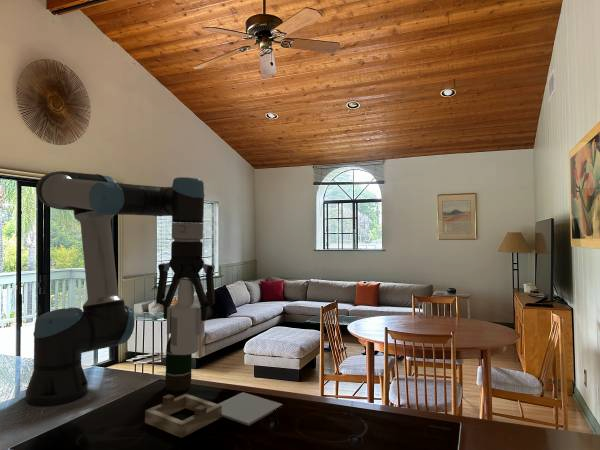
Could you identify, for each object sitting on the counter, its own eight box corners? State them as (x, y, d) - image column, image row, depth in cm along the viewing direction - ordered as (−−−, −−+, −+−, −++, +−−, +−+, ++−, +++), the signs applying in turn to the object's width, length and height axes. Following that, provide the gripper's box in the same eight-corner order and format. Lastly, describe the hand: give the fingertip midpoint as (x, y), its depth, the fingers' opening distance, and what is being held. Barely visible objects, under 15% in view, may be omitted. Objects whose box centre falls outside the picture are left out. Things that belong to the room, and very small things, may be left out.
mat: (207, 411, 114) (207, 408, 114) (242, 394, 126) (242, 392, 126) (248, 425, 106) (248, 423, 106) (282, 406, 118) (282, 404, 118)
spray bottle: (186, 345, 113) (188, 276, 113) (204, 351, 109) (206, 279, 109) (164, 351, 108) (166, 278, 108) (182, 357, 104) (184, 281, 104)
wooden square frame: (144, 422, 107) (144, 404, 107) (185, 404, 118) (185, 387, 118) (182, 438, 99) (182, 418, 99) (222, 417, 110) (222, 399, 110)
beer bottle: (184, 393, 126) (186, 309, 125) (159, 390, 127) (161, 307, 127) (196, 383, 133) (197, 304, 133) (172, 381, 135) (174, 303, 135)
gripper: (141, 239, 105) (139, 335, 105) (223, 242, 104) (220, 338, 104) (154, 238, 113) (152, 327, 113) (230, 240, 112) (227, 330, 112)
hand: (185, 332), depth 109 cm, fingers closed on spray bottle, 7 cm apart
